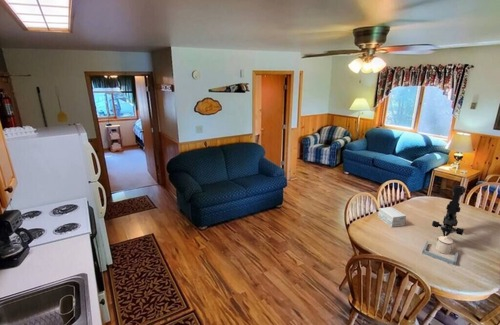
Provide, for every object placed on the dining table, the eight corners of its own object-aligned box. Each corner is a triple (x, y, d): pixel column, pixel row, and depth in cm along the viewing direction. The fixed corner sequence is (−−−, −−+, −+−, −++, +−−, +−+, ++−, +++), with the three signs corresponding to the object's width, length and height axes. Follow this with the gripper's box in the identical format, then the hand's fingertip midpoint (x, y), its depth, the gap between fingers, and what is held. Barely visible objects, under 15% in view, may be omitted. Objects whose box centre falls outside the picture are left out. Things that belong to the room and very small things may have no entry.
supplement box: (404, 225, 226) (406, 215, 223) (391, 227, 223) (393, 217, 220) (390, 215, 242) (391, 206, 239) (377, 217, 239) (379, 208, 236)
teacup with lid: (453, 254, 190) (457, 240, 186) (440, 254, 190) (444, 240, 186) (441, 243, 201) (445, 230, 198) (429, 244, 201) (433, 230, 197)
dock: (426, 243, 202) (426, 240, 201) (457, 254, 190) (458, 251, 189) (422, 253, 191) (422, 250, 190) (455, 265, 179) (456, 262, 178)
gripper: (435, 211, 200) (429, 230, 196) (466, 219, 188) (461, 240, 184) (434, 216, 208) (429, 234, 204) (465, 225, 197) (459, 244, 192)
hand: (444, 238), depth 196 cm, fingers closed
